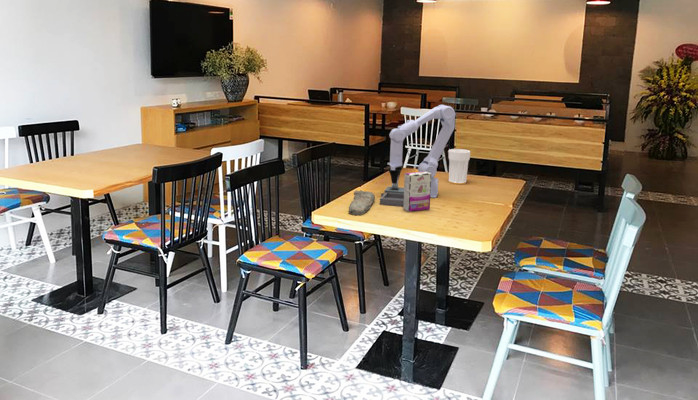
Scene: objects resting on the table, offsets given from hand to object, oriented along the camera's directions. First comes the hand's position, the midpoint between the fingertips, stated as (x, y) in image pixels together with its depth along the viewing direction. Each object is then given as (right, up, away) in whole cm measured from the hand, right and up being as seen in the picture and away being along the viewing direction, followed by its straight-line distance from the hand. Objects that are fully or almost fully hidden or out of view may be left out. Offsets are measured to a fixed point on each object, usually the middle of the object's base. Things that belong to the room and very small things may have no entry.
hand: (395, 182), depth 283 cm
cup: (+36, +1, +36) cm, 51 cm away
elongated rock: (-16, -11, -18) cm, 27 cm away
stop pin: (0, -4, +1) cm, 4 cm away
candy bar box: (+8, -13, -22) cm, 27 cm away
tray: (0, -9, -11) cm, 15 cm away
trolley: (+2, -7, +1) cm, 7 cm away
